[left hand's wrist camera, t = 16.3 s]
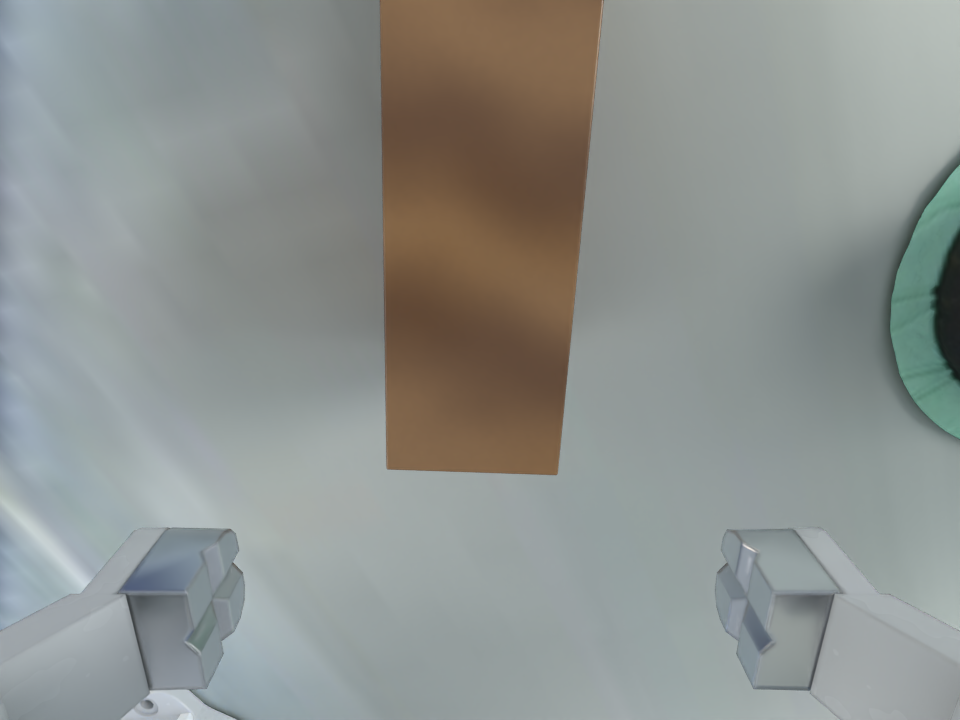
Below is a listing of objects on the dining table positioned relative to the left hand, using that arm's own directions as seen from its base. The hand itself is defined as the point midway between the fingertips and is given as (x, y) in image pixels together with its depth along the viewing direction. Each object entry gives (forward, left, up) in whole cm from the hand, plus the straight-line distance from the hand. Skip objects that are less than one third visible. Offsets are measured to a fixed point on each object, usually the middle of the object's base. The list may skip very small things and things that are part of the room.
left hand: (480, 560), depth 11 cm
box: (0, +6, -24) cm, 24 cm away
